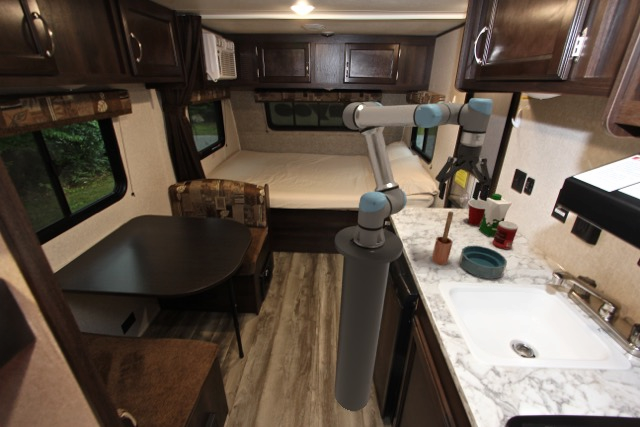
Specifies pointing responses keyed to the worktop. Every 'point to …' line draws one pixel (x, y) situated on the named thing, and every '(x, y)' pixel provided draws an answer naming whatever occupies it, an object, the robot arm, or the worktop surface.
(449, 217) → the stick
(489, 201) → the milk carton
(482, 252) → the bowl
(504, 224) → the canned food
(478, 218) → the plastic cup
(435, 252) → the crock
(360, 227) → the robot arm
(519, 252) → the worktop surface
